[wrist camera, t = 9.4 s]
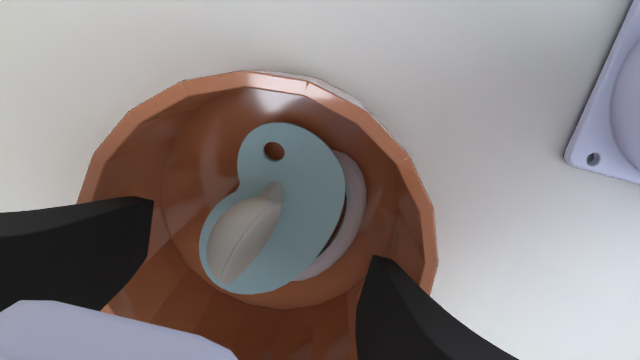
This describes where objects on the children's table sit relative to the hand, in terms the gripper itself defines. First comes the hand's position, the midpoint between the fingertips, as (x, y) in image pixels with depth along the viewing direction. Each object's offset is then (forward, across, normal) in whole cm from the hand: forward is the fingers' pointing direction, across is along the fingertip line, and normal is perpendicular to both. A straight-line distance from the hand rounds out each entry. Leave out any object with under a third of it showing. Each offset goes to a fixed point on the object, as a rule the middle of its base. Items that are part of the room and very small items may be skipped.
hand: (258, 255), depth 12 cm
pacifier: (+5, -1, 0) cm, 5 cm away
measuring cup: (+5, -2, +1) cm, 6 cm away
